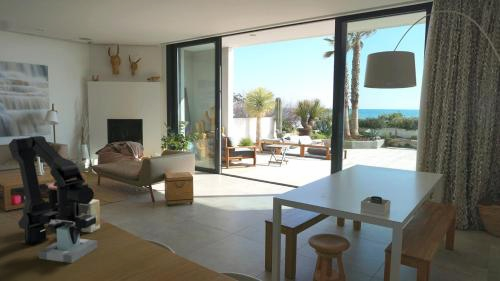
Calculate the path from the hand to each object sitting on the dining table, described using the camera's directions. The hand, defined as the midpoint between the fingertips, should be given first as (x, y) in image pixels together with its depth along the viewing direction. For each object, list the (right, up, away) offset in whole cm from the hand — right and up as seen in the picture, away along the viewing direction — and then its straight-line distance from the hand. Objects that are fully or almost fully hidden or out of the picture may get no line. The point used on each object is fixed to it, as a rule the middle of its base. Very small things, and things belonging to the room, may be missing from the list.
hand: (68, 243), depth 122 cm
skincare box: (-2, -1, +22) cm, 22 cm away
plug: (0, -2, 0) cm, 2 cm away
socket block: (0, -3, 0) cm, 4 cm away
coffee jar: (-16, -1, +26) cm, 31 cm away
